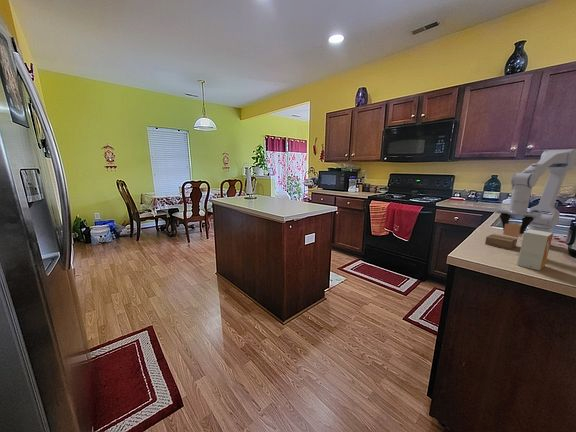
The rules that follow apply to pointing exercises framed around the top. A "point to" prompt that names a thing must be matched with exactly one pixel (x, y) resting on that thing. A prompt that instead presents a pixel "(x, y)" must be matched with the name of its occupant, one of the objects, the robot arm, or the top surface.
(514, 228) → the terracotta cube
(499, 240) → the walnut block
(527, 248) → the small box
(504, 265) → the top surface
